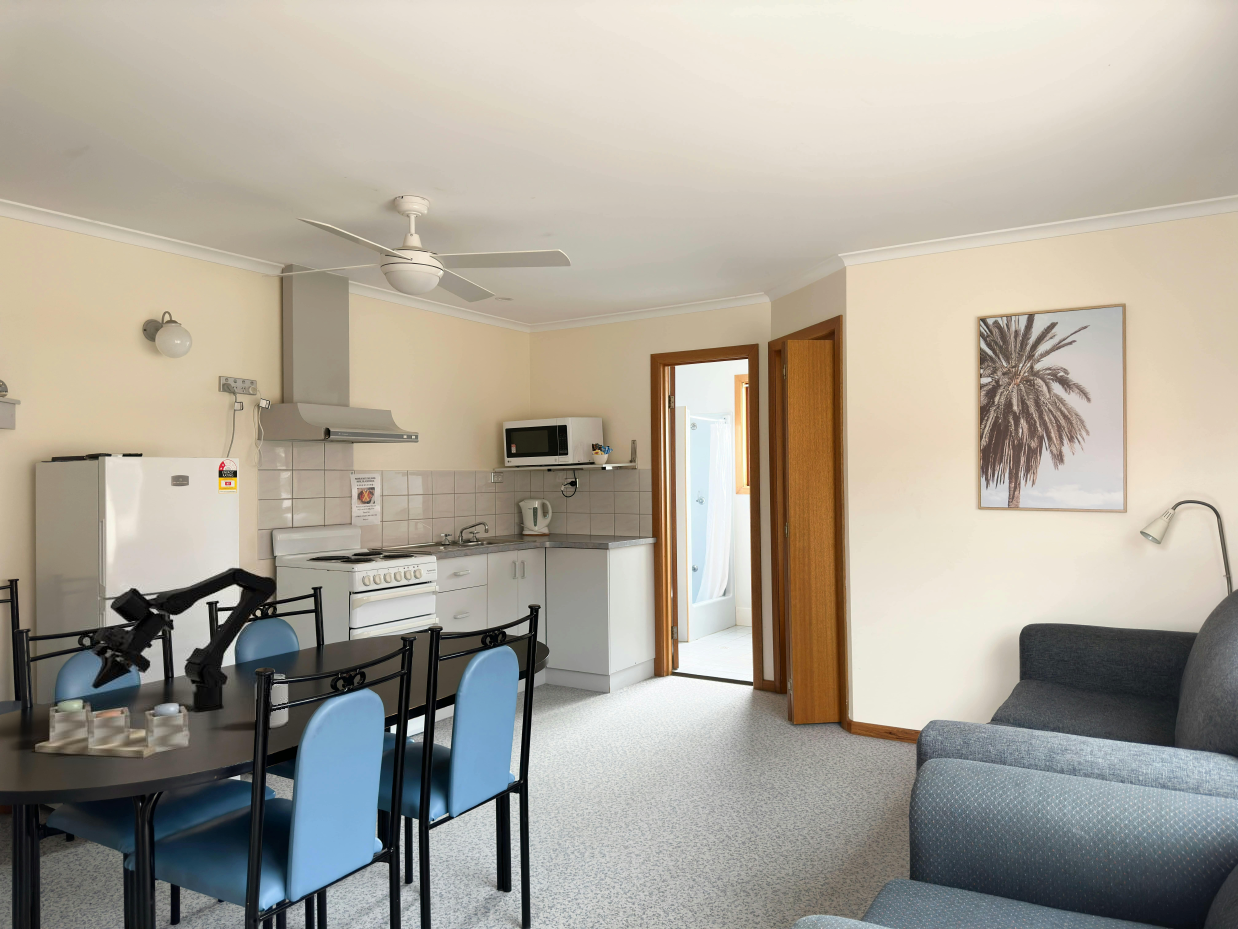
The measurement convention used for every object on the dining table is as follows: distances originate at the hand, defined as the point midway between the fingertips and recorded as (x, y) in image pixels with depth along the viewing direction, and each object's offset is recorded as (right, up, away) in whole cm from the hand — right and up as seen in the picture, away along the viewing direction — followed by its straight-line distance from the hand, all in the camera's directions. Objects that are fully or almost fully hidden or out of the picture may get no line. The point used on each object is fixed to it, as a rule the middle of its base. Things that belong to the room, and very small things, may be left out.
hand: (93, 687), depth 195 cm
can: (+40, -11, +5) cm, 42 cm away
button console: (+10, -11, -8) cm, 17 cm away
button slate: (+23, -5, -9) cm, 25 cm away
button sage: (-3, -5, -4) cm, 7 cm away
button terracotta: (+9, -6, -9) cm, 15 cm away
